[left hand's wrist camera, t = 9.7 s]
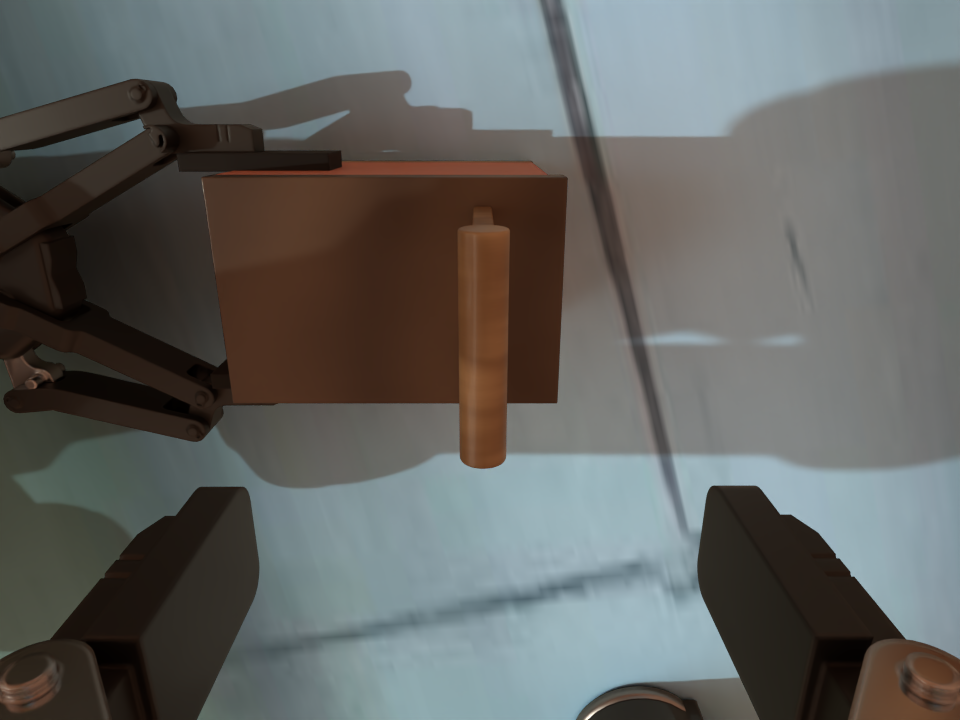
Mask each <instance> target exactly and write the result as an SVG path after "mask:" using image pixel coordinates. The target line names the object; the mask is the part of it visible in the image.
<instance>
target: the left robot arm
mask: <svg viewBox="0 0 960 720" xmlns="http://www.w3.org/2000/svg"><path fill="white" fill-rule="evenodd" d="M697 572H698V581H699V587H700V591H701V594H702V597H703V599H704V602H705V604H706V606H707V608H708V610H709V612H710V614H711V617H712V619H713V621H714V623H715V625H716V627H717V629H718V632H719V634H720V636H721V638H722V640H723V642H724V644H725V647H726V649H727V651H728V653H729V655H730V657H731V659H732V661H733V664H734V666H735V668H736V670H737V672H738V674H739V676H740V679H741V681H742V683H743V685H744V687H745V689H746V691H747V693H748V696H749V698H750V700H751V702H752V704H753V706H754V708H755V711H756V713H757V715H758V717H759V719H760V720H960V659H958V658H957V657H955V656H953V655H951V654H949V653H947V652H945V651H943V650H941V649H938V648H936V647H933V646H930V645H928V644H925V643H921V642H917V641H913V640H906V639H905V638H904V636H903V635H902V634H901V633H900V632H899V630H898V629H897V628H896V627H895V626H894V624H893V623H892V622H891V621H890V620H889V618H888V617H887V616H886V615H885V613H884V612H883V611H882V610H881V609H880V607H879V606H878V605H877V604H876V603H875V601H874V600H873V599H872V598H871V596H870V595H869V594H868V593H867V592H866V590H865V589H864V588H863V587H862V586H861V584H860V583H859V582H858V581H857V579H856V578H855V577H851V575H850V571H849V570H848V569H847V567H846V566H845V565H844V564H843V562H842V561H841V560H840V559H836V554H835V553H834V552H833V550H832V549H831V548H830V547H829V545H828V544H827V543H826V542H825V541H824V539H823V538H822V537H821V536H820V535H819V533H818V532H816V531H815V530H813V529H812V528H810V527H809V526H807V525H806V524H804V523H803V522H801V521H800V520H798V519H797V518H795V517H794V516H792V515H780V514H779V512H778V511H777V510H776V508H775V507H774V506H773V505H772V503H771V502H770V501H769V499H768V498H767V497H766V495H765V494H764V493H763V491H762V490H761V489H760V488H759V487H757V486H712V487H710V489H709V491H708V493H707V497H706V503H705V511H704V518H703V525H702V532H701V540H700V547H699V554H698V563H697ZM258 580H259V558H258V550H257V543H256V536H255V529H254V522H253V515H252V508H251V501H250V496H249V493H248V491H247V489H246V488H245V487H199V488H198V489H196V490H195V492H194V493H193V494H192V495H191V497H190V498H189V499H188V501H187V502H186V503H185V504H184V506H183V507H182V508H181V510H180V511H179V512H178V513H177V515H176V516H164V517H163V518H161V519H160V520H158V521H157V522H155V523H154V524H152V525H151V526H149V527H148V528H146V529H145V530H143V531H142V532H140V533H139V534H137V536H136V537H135V538H134V539H133V540H132V542H131V543H130V544H129V545H128V546H127V548H126V549H125V550H124V551H123V552H122V554H121V555H120V559H119V560H116V561H115V562H114V563H113V564H112V566H111V567H110V568H109V569H108V571H107V572H106V573H105V577H104V578H101V579H100V580H99V581H98V583H97V584H96V585H95V586H94V587H93V589H92V590H91V591H90V592H89V593H88V595H87V596H86V597H85V598H84V599H83V601H82V602H81V603H80V604H79V605H78V607H77V608H76V609H75V610H74V611H73V613H72V614H71V615H70V616H69V617H68V619H67V620H66V621H65V622H64V623H63V625H62V626H61V627H60V628H59V629H58V631H57V632H56V633H55V634H54V635H53V637H52V638H51V639H50V640H47V641H43V642H39V643H35V644H32V645H30V646H27V647H24V648H22V649H19V650H17V651H15V652H13V653H11V654H9V655H7V656H5V657H3V658H2V659H0V720H197V718H198V716H199V714H200V712H201V710H202V708H203V706H204V703H205V701H206V699H207V697H208V695H209V693H210V691H211V689H212V687H213V684H214V682H215V680H216V678H217V676H218V674H219V672H220V670H221V668H222V665H223V663H224V661H225V659H226V657H227V655H228V653H229V651H230V649H231V646H232V644H233V642H234V640H235V638H236V636H237V634H238V632H239V630H240V627H241V625H242V623H243V621H244V619H245V617H246V615H247V613H248V611H249V609H250V606H251V604H252V602H253V600H254V597H255V594H256V591H257V586H258ZM576 720H703V717H702V715H701V712H700V709H699V707H698V704H697V701H695V700H681V699H680V698H678V697H677V696H675V695H674V694H672V693H670V692H667V691H665V690H662V689H658V688H653V687H645V686H634V687H625V688H620V689H616V690H613V691H610V692H608V693H605V694H603V695H601V696H599V697H598V698H596V699H594V700H593V701H592V702H590V703H589V704H588V705H587V706H586V707H585V708H584V709H583V710H582V711H581V713H580V714H579V715H578V717H577V719H576Z"/></svg>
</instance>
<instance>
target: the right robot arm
mask: <svg viewBox="0 0 960 720" xmlns="http://www.w3.org/2000/svg"><path fill="white" fill-rule="evenodd" d="M176 102H177V95H176V92H175V90H174V89H173V87H171V86H170V85H169V84H167V83H164V82H158V81H150V80H142V79H130V80H127V81H124V82H120V83H117V84H113V85H110V86H107V87H103V88H100V89H97V90H93V91H90V92H86V93H83V94H80V95H76V96H73V97H70V98H66V99H63V100H59V101H56V102H53V103H49V104H46V105H43V106H39V107H36V108H32V109H29V110H26V111H22V112H19V113H16V114H12V115H9V116H5V117H2V118H0V168H5V167H7V166H9V165H10V164H11V161H12V160H14V159H15V157H16V154H15V151H14V150H28V149H36V148H40V147H44V146H48V145H51V144H54V143H58V142H61V141H65V140H68V139H72V138H75V137H79V136H82V135H85V134H89V133H92V132H96V131H99V130H103V129H106V128H110V127H113V126H116V125H120V124H123V123H127V122H130V121H134V120H137V119H141V121H142V123H143V125H144V126H143V128H144V129H146V130H145V131H143V132H142V133H140V134H138V135H137V136H135V137H134V138H132V139H131V140H129V141H127V142H126V143H124V144H123V145H121V146H119V147H118V148H116V149H115V150H113V151H112V152H110V153H108V154H107V155H105V156H104V157H102V158H100V159H99V160H97V161H96V162H94V163H93V164H91V165H89V166H88V167H86V168H85V169H83V170H81V171H80V172H78V173H77V174H75V175H74V176H72V177H70V178H69V179H67V180H66V181H64V182H62V183H61V184H59V185H58V186H56V187H55V188H53V189H51V190H50V191H48V192H47V193H45V194H43V195H42V196H40V197H38V198H35V199H32V200H30V201H28V202H25V201H24V200H22V199H21V198H19V197H17V196H16V195H14V194H13V193H11V192H9V191H8V190H6V189H5V188H3V187H1V186H0V359H3V360H4V362H5V365H6V368H7V370H8V373H9V376H10V379H11V381H12V384H13V387H14V389H12V390H10V391H9V392H7V393H6V394H5V395H4V398H3V400H4V404H5V405H6V407H7V408H8V409H9V410H10V411H13V412H15V413H26V412H38V411H49V410H54V411H59V412H63V413H68V414H72V415H77V416H81V417H86V418H90V419H94V420H99V421H103V422H108V423H112V424H117V425H121V426H126V427H130V428H135V429H139V430H144V431H148V432H152V433H157V434H161V435H166V436H170V437H175V438H179V439H184V440H188V441H193V442H198V441H201V440H202V439H203V438H204V437H205V436H206V435H207V434H208V433H209V432H210V430H211V429H212V428H213V427H214V426H215V425H216V424H217V422H218V421H219V420H220V419H221V418H222V416H223V406H225V405H275V404H278V403H233V398H232V390H231V383H230V376H229V369H228V362H227V359H226V360H225V361H224V362H223V363H222V364H221V365H220V366H219V367H216V366H214V365H212V364H209V363H207V362H205V361H203V360H201V359H199V358H197V357H194V356H192V355H190V354H188V353H186V352H184V351H182V350H179V349H177V348H175V347H173V346H171V345H169V344H167V343H165V342H162V341H160V340H158V339H156V338H154V337H152V336H150V335H147V334H145V333H143V332H141V331H139V330H137V329H135V328H132V327H130V326H128V325H126V324H124V323H122V322H120V321H118V320H115V319H113V318H111V317H110V316H109V312H108V311H107V310H105V309H103V308H101V307H99V306H97V305H94V304H92V303H90V302H88V301H86V300H84V299H86V298H87V296H86V291H85V286H84V283H83V281H82V278H81V276H80V274H79V272H78V270H77V268H76V262H77V249H76V244H75V240H74V236H68V235H67V233H66V231H65V230H67V229H69V228H70V227H72V226H73V225H75V224H77V223H78V222H80V221H82V220H83V219H85V218H86V217H88V216H89V214H90V213H91V212H93V211H94V210H96V209H97V208H99V207H101V206H102V205H104V204H106V203H107V202H109V201H110V200H112V199H114V198H115V197H117V196H119V195H120V194H122V193H123V192H125V191H127V190H128V189H130V188H132V187H133V186H135V185H136V184H138V183H140V182H141V181H143V180H145V179H146V178H148V177H149V176H151V175H153V174H154V173H156V172H158V171H159V170H161V169H162V168H164V167H166V166H167V165H169V164H171V163H172V162H174V161H175V160H178V167H179V172H230V171H331V170H334V169H337V168H340V167H342V158H341V151H264V142H263V133H262V129H261V128H258V127H256V126H253V125H251V124H194V123H191V122H189V121H188V120H187V119H186V118H185V117H184V116H183V115H182V113H181V111H180V109H179V107H178V105H177V103H176ZM41 344H44V345H46V346H49V347H51V348H53V349H55V350H58V351H61V352H74V353H78V354H80V355H83V356H85V357H87V358H89V359H91V360H94V361H96V362H98V363H100V364H102V365H104V366H107V367H109V368H111V369H113V370H115V371H118V372H120V373H122V374H124V375H126V376H129V377H131V378H133V379H135V380H137V381H140V382H142V383H144V384H146V385H148V386H146V385H142V384H137V383H133V382H129V381H124V380H120V379H116V378H111V377H107V376H102V375H98V374H94V373H89V372H83V371H65V366H64V365H63V364H61V363H56V364H55V363H52V362H46V361H43V360H41V359H40V358H39V357H38V356H37V355H36V353H35V352H34V350H35V349H36V348H37V347H39V346H40V345H41ZM150 386H151V387H150Z"/></svg>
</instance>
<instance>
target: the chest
mask: <svg viewBox="0 0 960 720" xmlns="http://www.w3.org/2000/svg"><path fill="white" fill-rule="evenodd" d="M216 175H548V174H546V173H545V172H544V171H542V170H541V169H540V168H538V167H537V166H536V165H534V164H533V162H532V161H342V167H340V168H337V169H334V170H331V171H230V172H225V173H220V174H216Z"/></svg>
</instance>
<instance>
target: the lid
mask: <svg viewBox="0 0 960 720" xmlns="http://www.w3.org/2000/svg"><path fill="white" fill-rule="evenodd" d="M201 179H202V186H203V193H204V200H205V207H206V214H207V221H208V228H209V235H210V242H211V250H212V257H213V264H214V271H215V278H216V285H217V292H218V299H219V306H220V313H221V320H222V327H223V334H224V341H225V348H226V355H227V362H228V369H229V376H230V383H231V390H232V398H233V403H459V421H460V459H461V461H462V462H463V463H464V464H466V465H467V466H470V467H473V468H480V469H486V468H493V467H496V466H499V465H501V464H502V463H503V462H504V461H505V459H506V431H507V403H557V399H558V378H559V356H560V334H561V312H562V291H563V269H564V247H565V225H566V203H567V182H568V178H567V177H565V176H564V175H210V176H205V177H202V178H201Z"/></svg>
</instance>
